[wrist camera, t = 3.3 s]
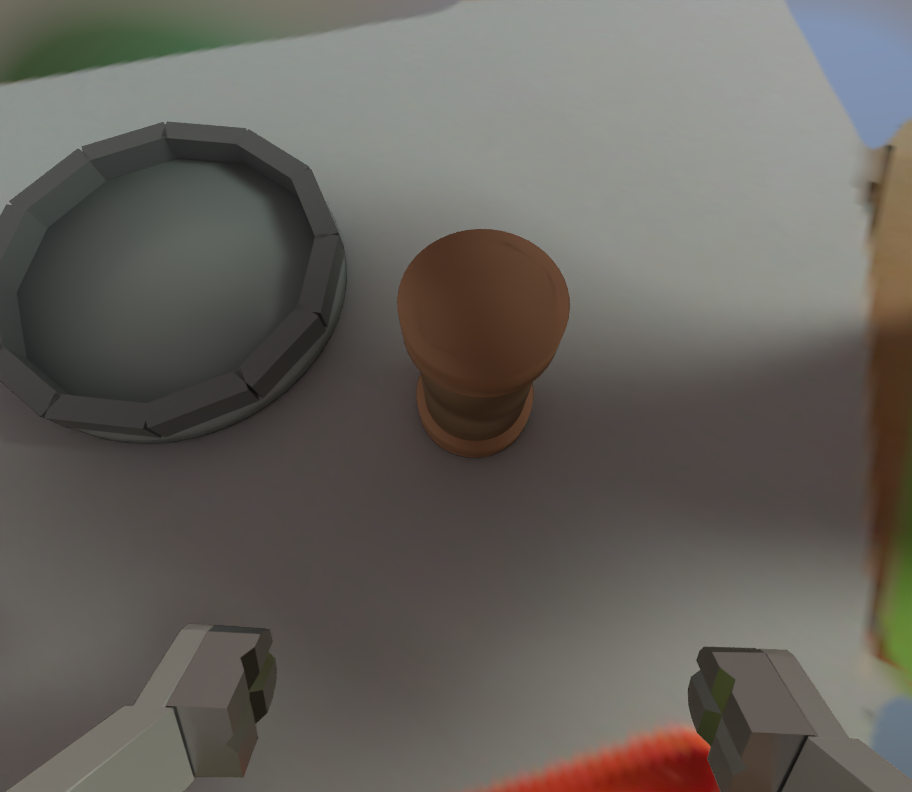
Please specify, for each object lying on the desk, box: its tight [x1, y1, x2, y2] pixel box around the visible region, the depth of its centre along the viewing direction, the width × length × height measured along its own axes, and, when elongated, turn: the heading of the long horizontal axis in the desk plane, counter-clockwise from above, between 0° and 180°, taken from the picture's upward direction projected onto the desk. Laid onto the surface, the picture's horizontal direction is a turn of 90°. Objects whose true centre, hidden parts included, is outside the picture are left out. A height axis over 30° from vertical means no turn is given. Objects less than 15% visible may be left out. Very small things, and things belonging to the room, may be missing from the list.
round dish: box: [0, 122, 347, 444], centre depth 27 cm, size 18×18×2 cm
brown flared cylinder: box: [397, 229, 570, 458], centre depth 21 cm, size 6×6×10 cm
